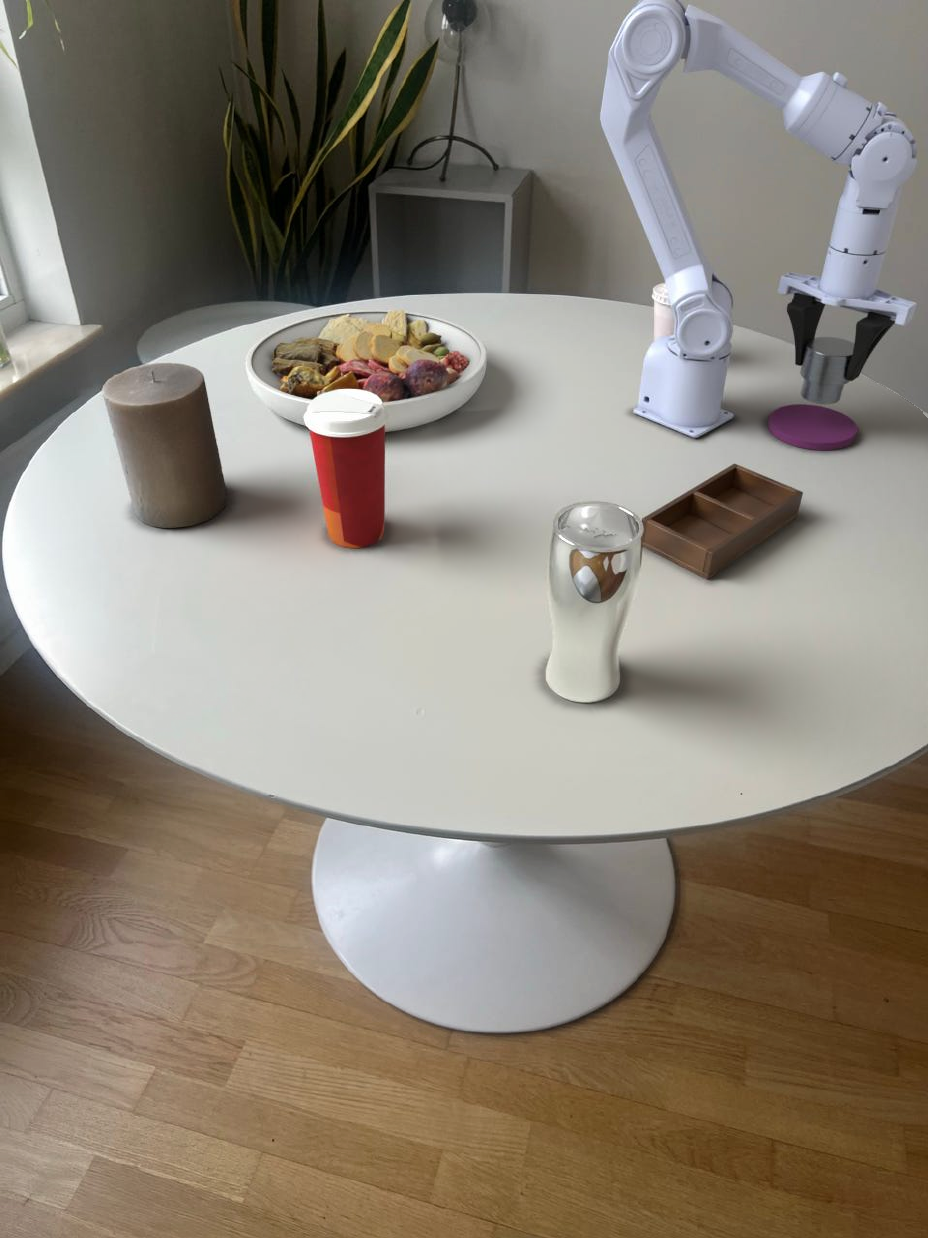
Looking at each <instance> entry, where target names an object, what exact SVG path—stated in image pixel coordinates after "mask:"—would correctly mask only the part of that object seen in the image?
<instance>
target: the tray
mask: <svg viewBox="0 0 928 1238" xmlns="http://www.w3.org/2000/svg"><path fill="white" fill-rule="evenodd" d="M803 496H804V491H802V490H799V489H796V488H794V487H792V486H789V485H787V484H785V483H782V482H780V481H778V480H775V479H773V478H771V477H768V476H766V475H763V474H761V473H758V472H756V471H754V470H751V469H749V468H746V467H745V466H742V465H739V464H737V463H732V464H731V465H729V466H727V467H726V468H724V469H723V470H721V471H719V472H718V473H716V474H714V475H712V476H711V477H709V478H707V479H706V480H704V481H702V482H700V483H699V484H698V485H695V486H694V487H692V488H691V489H690V490H687V491H686V492H683V493H682V494H681V495H679V496H677V497H676V498H674V499H673V500H670V501H669V502H667V503H666V504H664V505H662V506H660V507H658V508H657V509H655V510H654V511H652V512H651V513H649V514H647V515H646V516H644V517H642V518H641V521H642V523H643V527H644V531H643V540H642V548H645V549H646V550H649V551H650V552H652V553H654V554H657V555H659V556H660V557H662V558H664V559H666V560H668V561H670V562H671V563H674V564H676V565H678V566H680V567H681V568H684V569H686V570H688V571H689V572H692V573H693V574H695V575H697V576H698V577H699V576H700V577H702V578H703V579H705V580H709V579H711V578H712V577H713V576H714V575H716V574H718V573H719V572H720V571H722V570H723V569H725V568H726V567H728V566H729V565H730V564H732V563H733V562H735V561H736V560H738V559H739V558H740V557H742V556H743V555H745V554H746V553H748V552H749V551H750V550H752V549H754V548H755V547H756V546H758V545H759V544H761V543H762V542H763V541H765V540H766V539H768V538H769V537H771V536H772V535H773V534H775V533H776V532H778V531H779V530H781V529H783V527H785V526H786V525H788V524H790V523H791V522H792V521H794V520H795V519H796V518H798V515H799V510H800V507H801V503H802V499H803Z"/></svg>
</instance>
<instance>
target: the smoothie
mask: <svg viewBox="0 0 928 1238" xmlns="http://www.w3.org/2000/svg"><path fill="white" fill-rule="evenodd" d="M651 298H652V299H653V313H654V314H653V342H654V341H655V340H656V339H657V338H659V337H661V336H664V335H666V336H671V335H673V334H674V327H675V317H674V313H673V311H672V308H671V306H670V302H669V297H668V292H667V287H666V282H662V283H659V284H656V285H655V286H654V287H652V294H651Z"/></svg>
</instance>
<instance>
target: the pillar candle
mask: <svg viewBox="0 0 928 1238" xmlns="http://www.w3.org/2000/svg"><path fill="white" fill-rule="evenodd" d="M101 393H102V395H101V396H102V397H103V400H104V404H105V407H106V408H105V409H106V411H107V415H108V417H109V423H110V425H111V429H112V435H113V438H114V441H115V445H116V449H117V453H118V457H119V460H120V464H121V468H122V471H123V476H124V479H125V483H126V486H127V490H128V495H129V497H130V501H131V506H132V509H133V511H134V514H135V516H136V518H137V519H138V520H139V521H140V522H141V523H143V524H145V525H148V526H151V527H156V528H162V529H167V528H168V529H174V528H182V527H192V526H197V525H199V524H203V523H205V522H207V521H210V520H212V519H213V518H214V517H216V516H217V515H218V514H220V513H221V512H222V511H223V510H224V508H225V507H226V506H227V504H228V500H227V499H228V498H227V496H228V493H227V492H228V491H227V486H226V482H225V476H224V472H223V466H222V461H221V457H220V452H219V451H220V450H219V447H218V443H217V438H216V437H217V436H216V432H215V427H214V423H213V418H212V417H213V416H212V412H211V406H210V401H209V395H208V391H207V385H206V381H205V377H204V374H203V373H202V371H201V370H199V369H198V368H197V367H194V366H192V365H187V364H184V363H178V362H177V363H176V362H156V363H149V364H141V365H138V366H133V367H130V368H128V369H125V370H123V371H121V372H120V373H117V374H114V375H113V376H112V377H110V378H109V379H107V381H106V382H105V383H104V384H103V385H102V389H101Z"/></svg>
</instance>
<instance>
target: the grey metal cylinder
mask: <svg viewBox="0 0 928 1238" xmlns="http://www.w3.org/2000/svg"><path fill="white" fill-rule="evenodd" d="M854 343H855V342H852V341H850V340H847V339H844V338H840V337H835V336H834V337H833V336H817V337H815V338H813V339H811V340H809V341H808V342H807V345H806V349H805V354H804V358H803V362H802V365H801V366H800V371H799V374H800V376H801V377H802V378H803V382H802V386H801V390H800V396H801V397H802V398H803V399H804V400H806V401H807V402H810V403H813V404H819V405H833V404H836V403H838V402H840V400H841V398H842V394H843V390H844V386H845V385H846V384H849V383H850V382H851V381H849V380H846V375H847V370H848V367H849V364H850V360H851V357H852V354H853V349H854Z"/></svg>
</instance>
